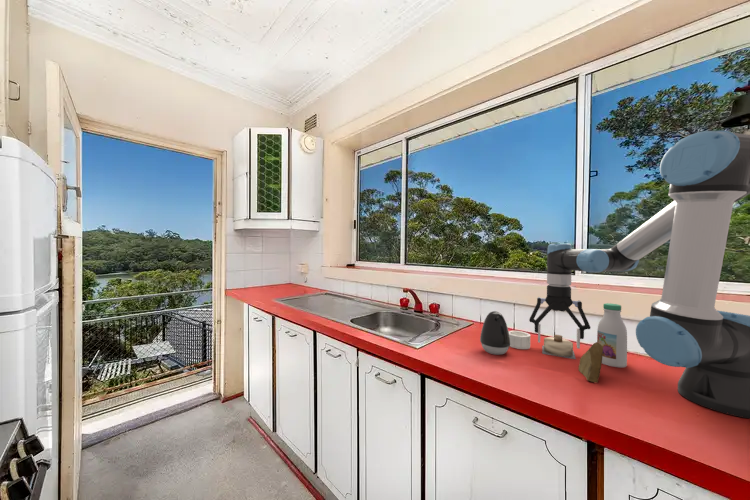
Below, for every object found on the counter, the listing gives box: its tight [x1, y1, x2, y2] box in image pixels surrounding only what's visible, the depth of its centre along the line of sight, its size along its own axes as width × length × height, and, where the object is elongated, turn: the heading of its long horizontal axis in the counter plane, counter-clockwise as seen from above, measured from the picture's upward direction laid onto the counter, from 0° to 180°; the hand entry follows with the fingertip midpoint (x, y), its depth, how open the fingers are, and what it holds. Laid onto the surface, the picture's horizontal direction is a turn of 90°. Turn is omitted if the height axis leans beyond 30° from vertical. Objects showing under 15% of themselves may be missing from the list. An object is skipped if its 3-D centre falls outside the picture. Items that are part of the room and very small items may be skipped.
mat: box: [541, 344, 577, 360], centre depth 104 cm, size 10×10×1 cm
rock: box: [578, 341, 603, 384], centre depth 86 cm, size 11×9×10 cm
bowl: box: [508, 330, 531, 350], centre depth 111 cm, size 8×8×5 cm
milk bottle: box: [596, 302, 628, 368], centre depth 95 cm, size 8×8×20 cm
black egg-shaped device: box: [479, 310, 510, 356], centre depth 104 cm, size 10×10×15 cm
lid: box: [543, 334, 574, 358], centre depth 104 cm, size 9×9×6 cm
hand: (558, 344), depth 104 cm, fingers open, 11 cm apart
